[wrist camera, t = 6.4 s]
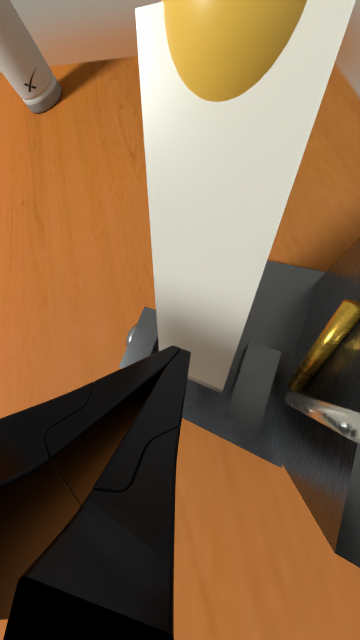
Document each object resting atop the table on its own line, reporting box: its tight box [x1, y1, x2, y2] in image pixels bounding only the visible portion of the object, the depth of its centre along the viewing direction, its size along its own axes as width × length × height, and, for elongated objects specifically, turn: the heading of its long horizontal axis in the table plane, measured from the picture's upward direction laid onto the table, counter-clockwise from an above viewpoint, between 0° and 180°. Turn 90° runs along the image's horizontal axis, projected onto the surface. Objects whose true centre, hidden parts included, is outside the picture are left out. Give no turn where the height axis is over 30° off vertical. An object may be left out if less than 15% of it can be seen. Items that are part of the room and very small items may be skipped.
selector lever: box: [135, 0, 356, 393], centre depth 8 cm, size 4×4×15 cm
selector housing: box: [119, 238, 360, 567], centre depth 11 cm, size 13×11×9 cm
